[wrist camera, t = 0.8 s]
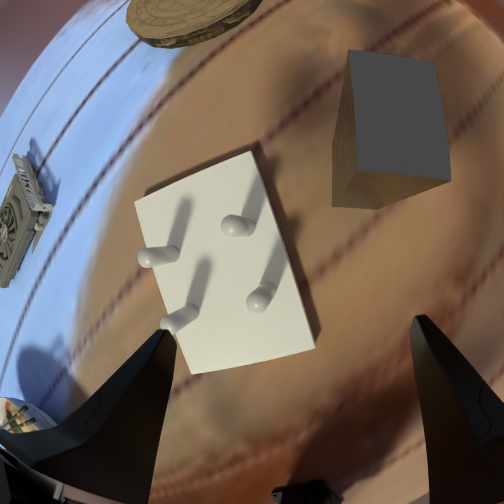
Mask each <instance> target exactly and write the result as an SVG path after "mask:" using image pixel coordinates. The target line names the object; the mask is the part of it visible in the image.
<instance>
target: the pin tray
mask: <svg viewBox="0 0 504 504" xmlns="http://www.w3.org/2000/svg"><path fill="white" fill-rule="evenodd" d="M135 206H136V210H137V214H138V218H139V221H140V225H141V229H142V232H143V236H144V240H145V243H146V247H147V248H143V249H141V250H140V252H139V254H138V261H139V263H140V265H141V266H142V267H144V268H149V267H153V270H154V273H155V276H156V279H157V282H158V285H159V288H160V291H161V294H162V297H163V300H164V303H165V306H166V309H167V312H168V314H169V315H167V316H165V317H163V318H162V319H161V321H160V327H161V329H168V330H169V331H170V332H171V334H172V335H174V334H175V333H176V336H177V339H178V341H179V344H180V346H181V349H182V351H183V354H184V356H185V359H186V361H187V364H188V366H189V369H190V371H191V373H192V374H197V373H204V372H210V371H216V370H221V369H227V368H232V367H237V366H242V365H247V364H252V363H257V362H262V361H266V360H270V359H275V358H279V357H283V356H287V355H291V354H295V353H299V352H303V351H307V350H311V349H314V348H315V340H314V337H313V334H312V330H311V327H310V323H309V320H308V317H307V314H306V310H305V307H304V304H303V301H302V297H301V294H300V291H299V288H298V285H297V281H296V278H295V275H294V272H293V269H292V266H291V263H290V259H289V256H288V253H287V250H286V247H285V244H284V241H283V238H282V235H281V232H280V229H279V226H278V223H277V220H276V217H275V214H274V211H273V208H272V205H271V202H270V200H269V197H268V194H267V191H266V188H265V185H264V182H263V179H262V177H261V174H260V171H259V168H258V165H257V162H256V160H255V157H254V154H253V153H252V152H251V151H249V152H246V153H243V154H241V155H238V156H236V157H233V158H231V159H228V160H226V161H223V162H221V163H218V164H216V165H214V166H211V167H209V168H206V169H204V170H202V171H200V172H197V173H195V174H193V175H190V176H188V177H186V178H184V179H181V180H179V181H177V182H175V183H173V184H171V185H168V186H166V187H164V188H162V189H160V190H158V191H156V192H154V193H152V194H150V195H148V196H146V197H144V198H141V199H139V200H138V201H136V202H135Z"/></svg>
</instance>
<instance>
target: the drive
mask: <svg viewBox="0 0 504 504" xmlns="http://www.w3.org/2000/svg"><path fill="white" fill-rule="evenodd" d="M450 181H451V168H450V155H449V146H448V137H447V129H446V122H445V116H444V110H443V104H442V99H441V94H440V89H439V85H438V80H437V76H436V72H435V68H434V64H433V63H430V62H426V61H421V60H417V59H412V58H407V57H401V56H395V55H389V54H382V53H375V52H367V51H357V50H348V55H347V62H346V68H345V75H344V81H343V88H342V94H341V100H340V105H339V111H338V117H337V122H336V128H335V133H334V138H333V143H332V207H348V208H363V209H379V208H382V207H385V206H387V205H390V204H393V203H395V202H398V201H400V200H403V199H406V198H408V197H411V196H414V195H416V194H419V193H421V192H424V191H427V190H429V189H432V188H435V187H437V186H440V185H442V184H445V183H448V182H450Z"/></svg>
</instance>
